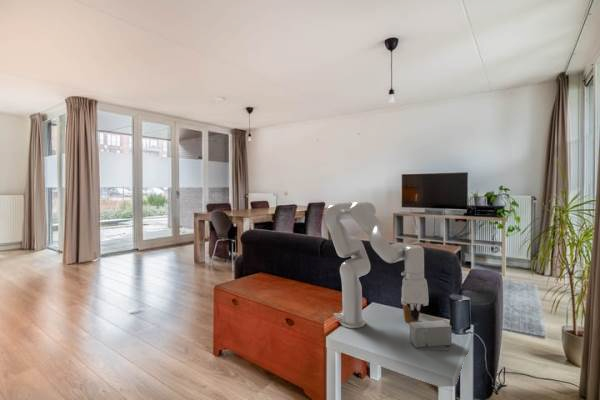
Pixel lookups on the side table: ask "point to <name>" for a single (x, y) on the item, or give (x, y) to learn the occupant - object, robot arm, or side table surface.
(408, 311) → the disposable coffee cup
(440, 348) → the mat
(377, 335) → the side table surface
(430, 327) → the skincare box
